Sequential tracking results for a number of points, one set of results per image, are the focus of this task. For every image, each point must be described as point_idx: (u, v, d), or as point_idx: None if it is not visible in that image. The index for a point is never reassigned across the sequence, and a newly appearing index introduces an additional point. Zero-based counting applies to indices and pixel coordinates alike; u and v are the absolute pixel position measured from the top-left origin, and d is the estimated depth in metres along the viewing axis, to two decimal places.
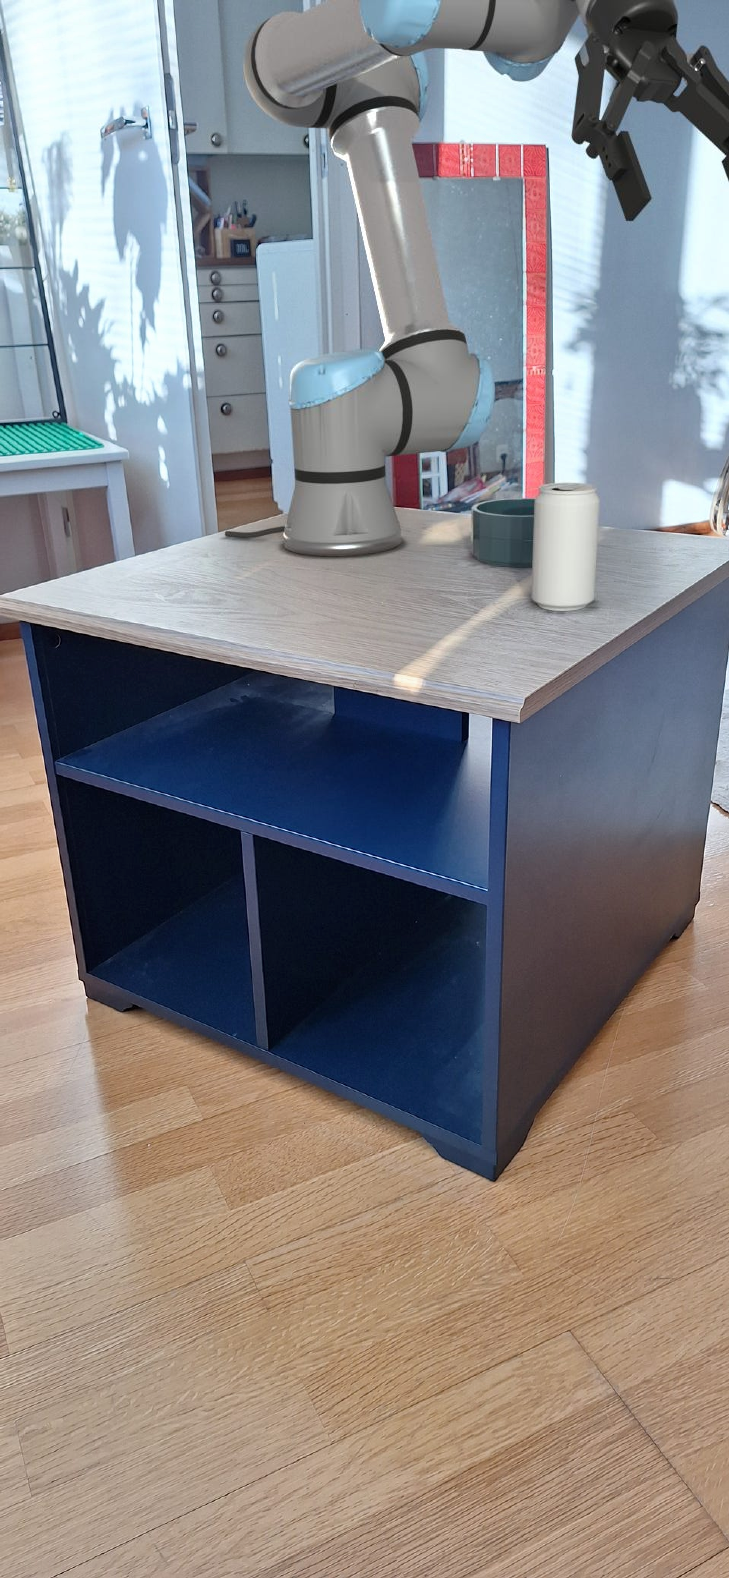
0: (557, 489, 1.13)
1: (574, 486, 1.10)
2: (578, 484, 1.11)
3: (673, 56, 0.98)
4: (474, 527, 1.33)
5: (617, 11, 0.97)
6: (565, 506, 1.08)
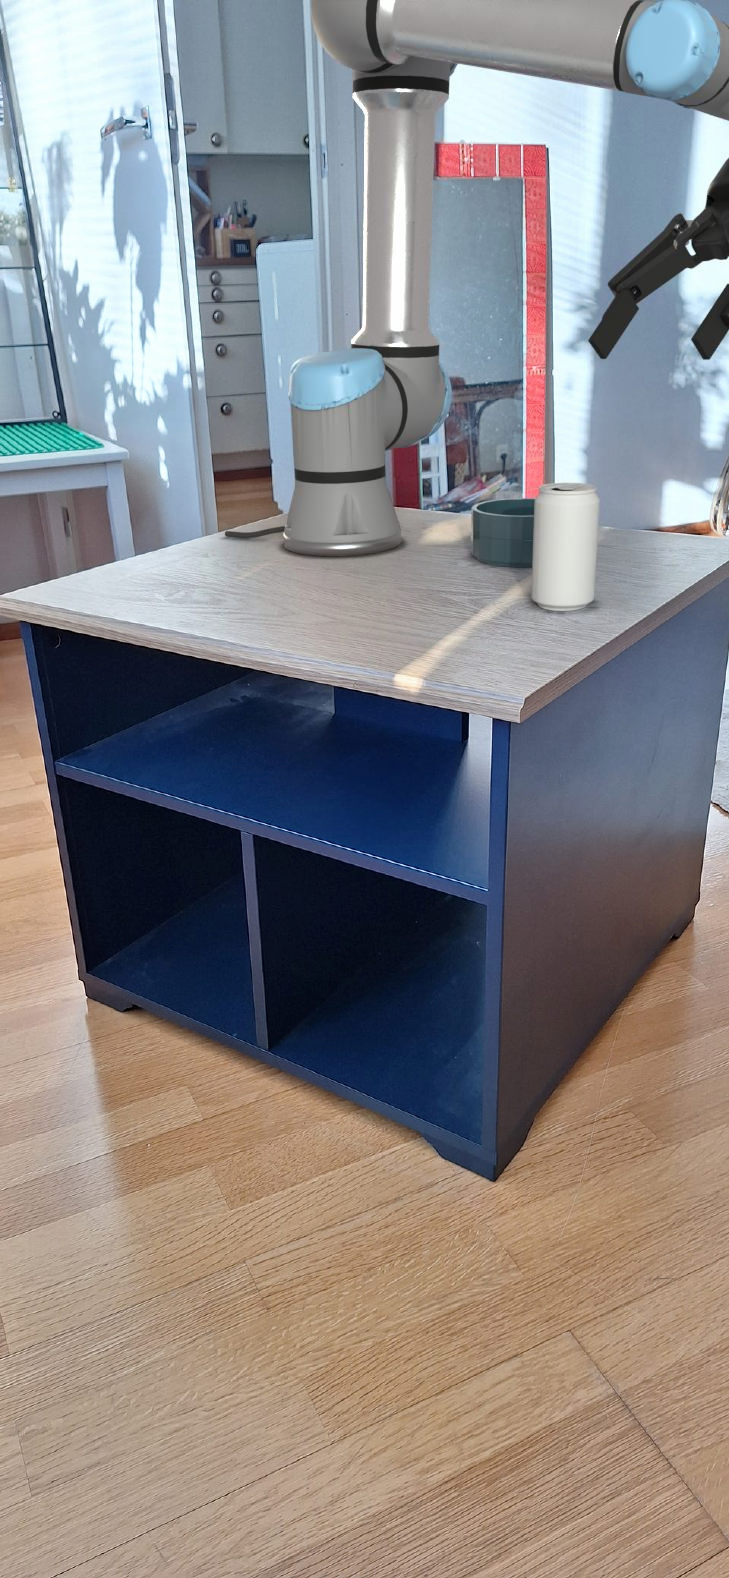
0: (557, 489, 1.13)
1: (574, 486, 1.10)
2: (578, 484, 1.11)
3: None
4: (474, 527, 1.33)
5: None
6: (565, 506, 1.08)
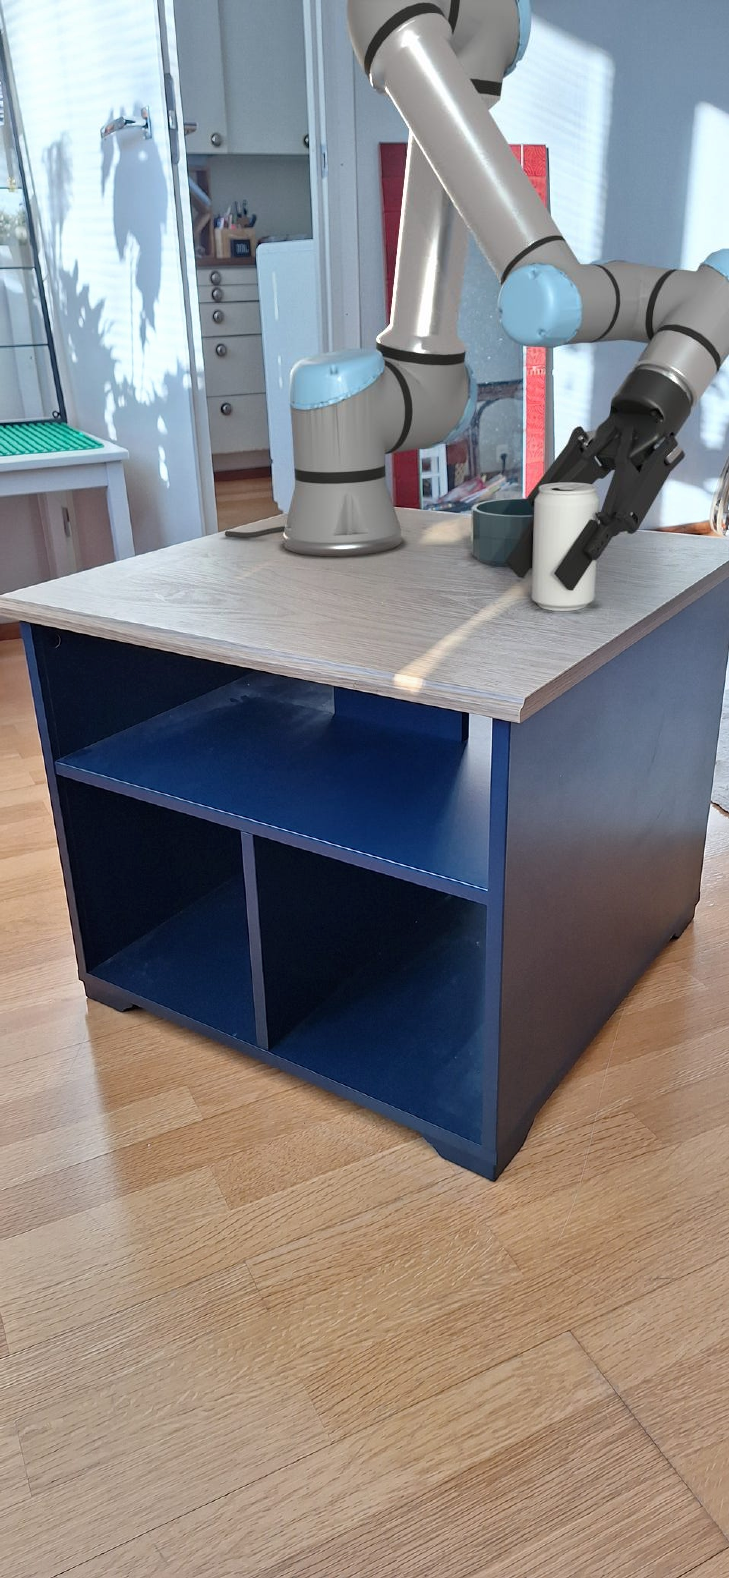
0: (557, 489, 1.13)
1: (574, 486, 1.10)
2: (578, 484, 1.11)
3: None
4: (474, 527, 1.33)
5: (678, 429, 1.12)
6: (565, 506, 1.08)
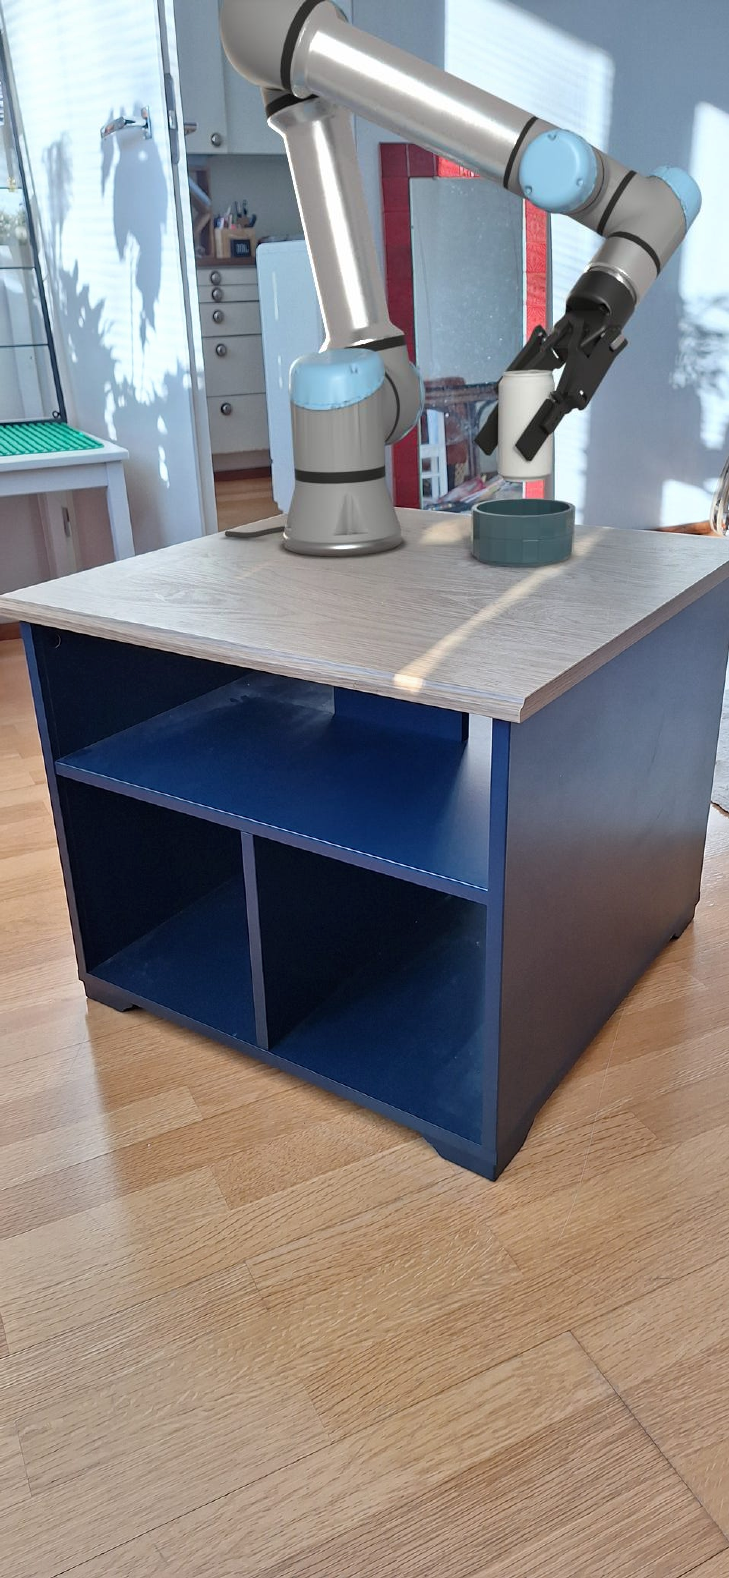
0: None
1: (532, 371, 1.27)
2: (536, 370, 1.28)
3: None
4: (474, 527, 1.33)
5: (623, 323, 1.29)
6: (524, 386, 1.25)
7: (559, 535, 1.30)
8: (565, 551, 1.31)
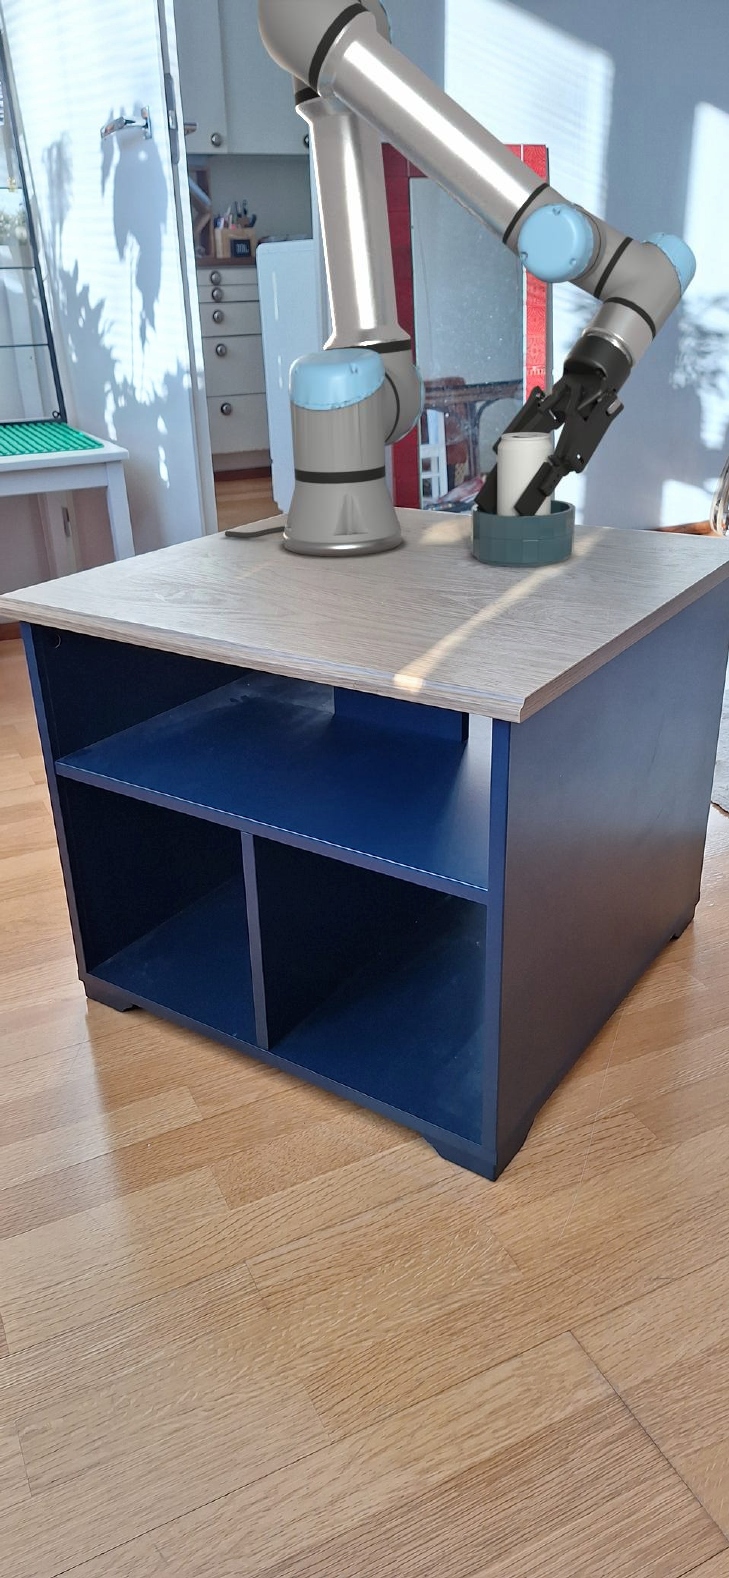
0: (517, 438, 1.33)
1: (531, 434, 1.30)
2: (534, 433, 1.30)
3: None
4: (474, 527, 1.33)
5: (620, 386, 1.31)
6: (523, 450, 1.27)
7: (559, 535, 1.30)
8: (565, 551, 1.31)
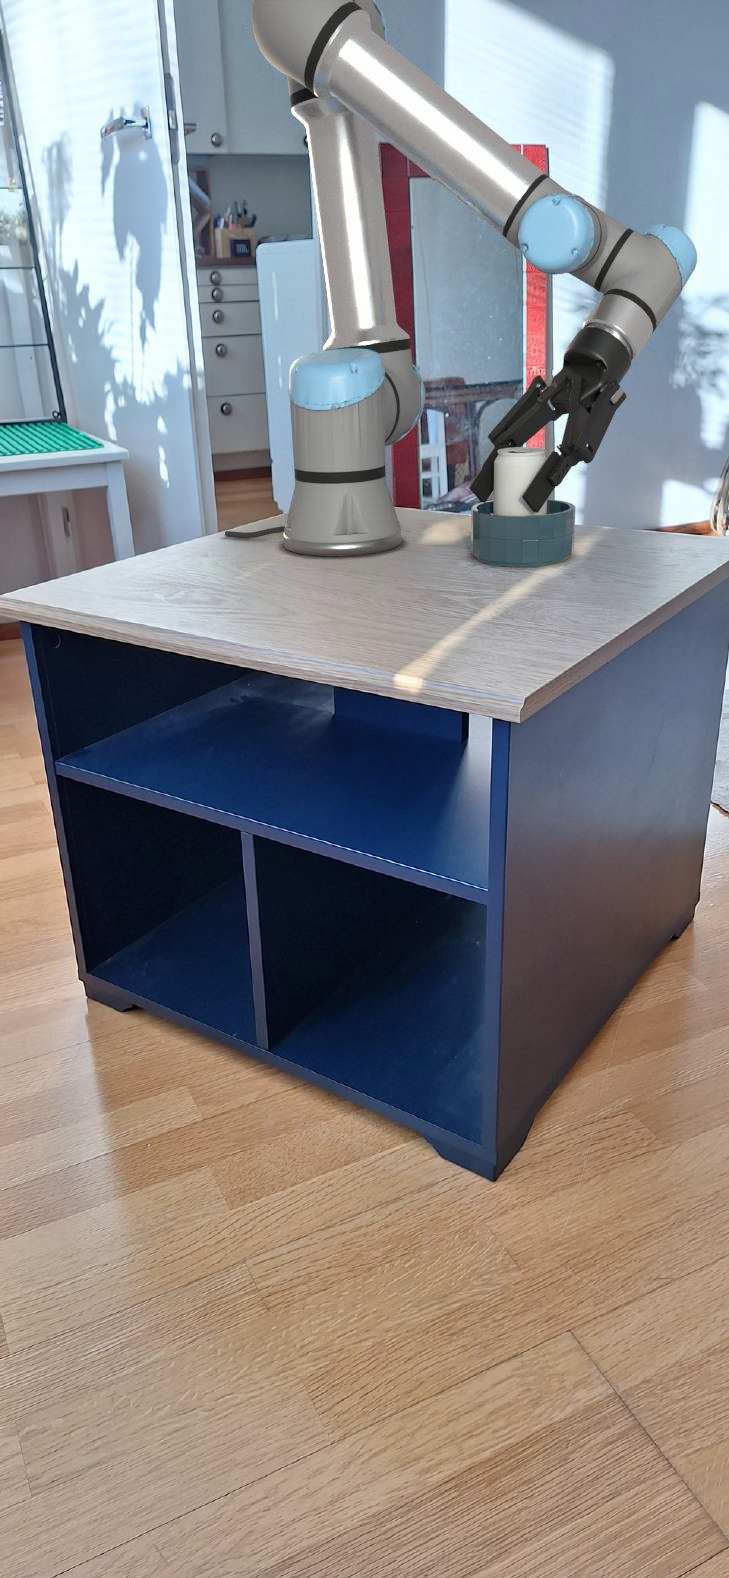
0: (514, 453, 1.34)
1: (527, 449, 1.31)
2: (531, 448, 1.32)
3: None
4: (474, 527, 1.33)
5: (620, 378, 1.31)
6: (519, 465, 1.29)
7: (559, 535, 1.30)
8: (565, 551, 1.31)
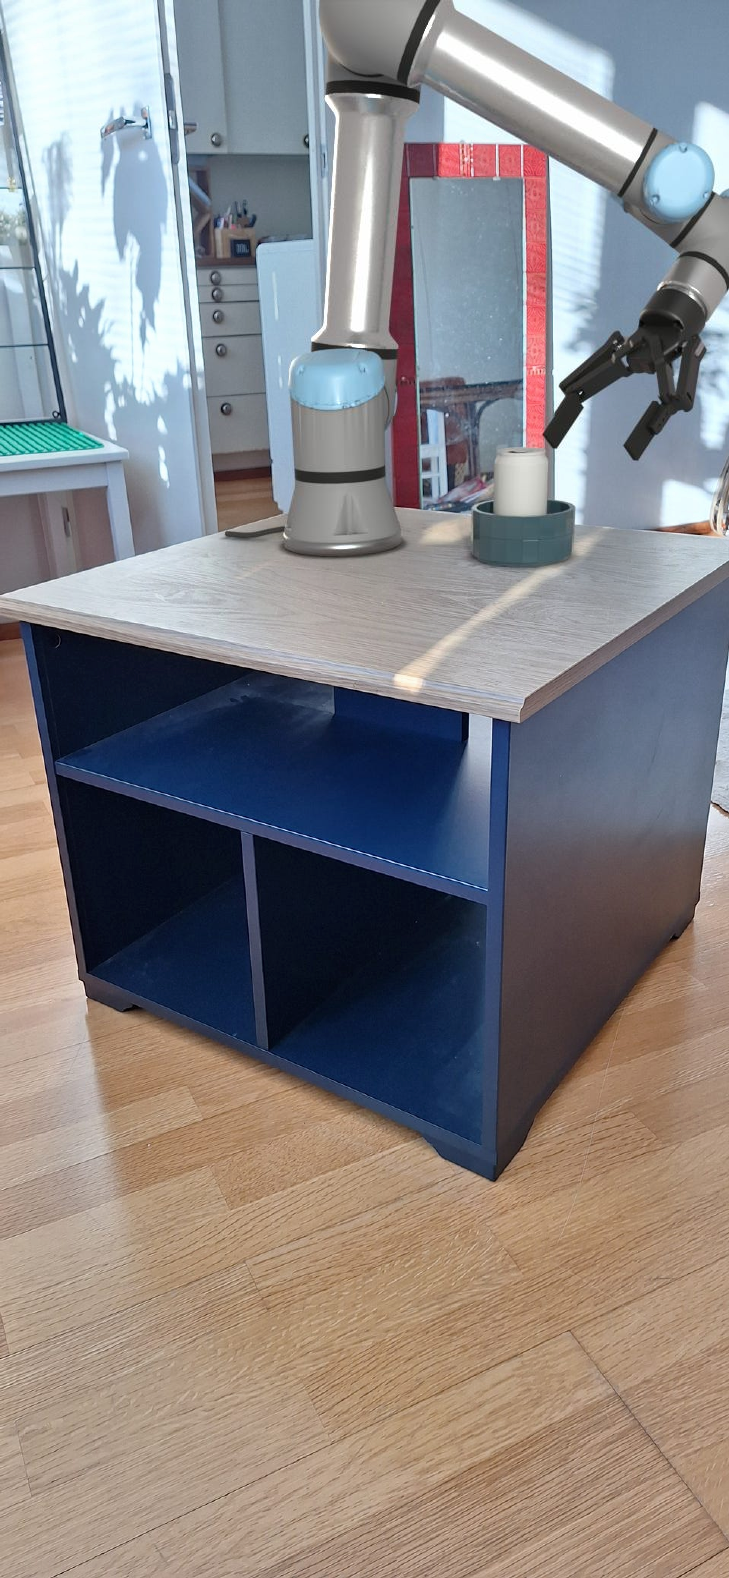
0: (514, 453, 1.34)
1: (527, 449, 1.31)
2: (531, 448, 1.32)
3: None
4: (474, 527, 1.33)
5: None
6: (519, 465, 1.29)
7: (559, 535, 1.30)
8: (565, 551, 1.31)
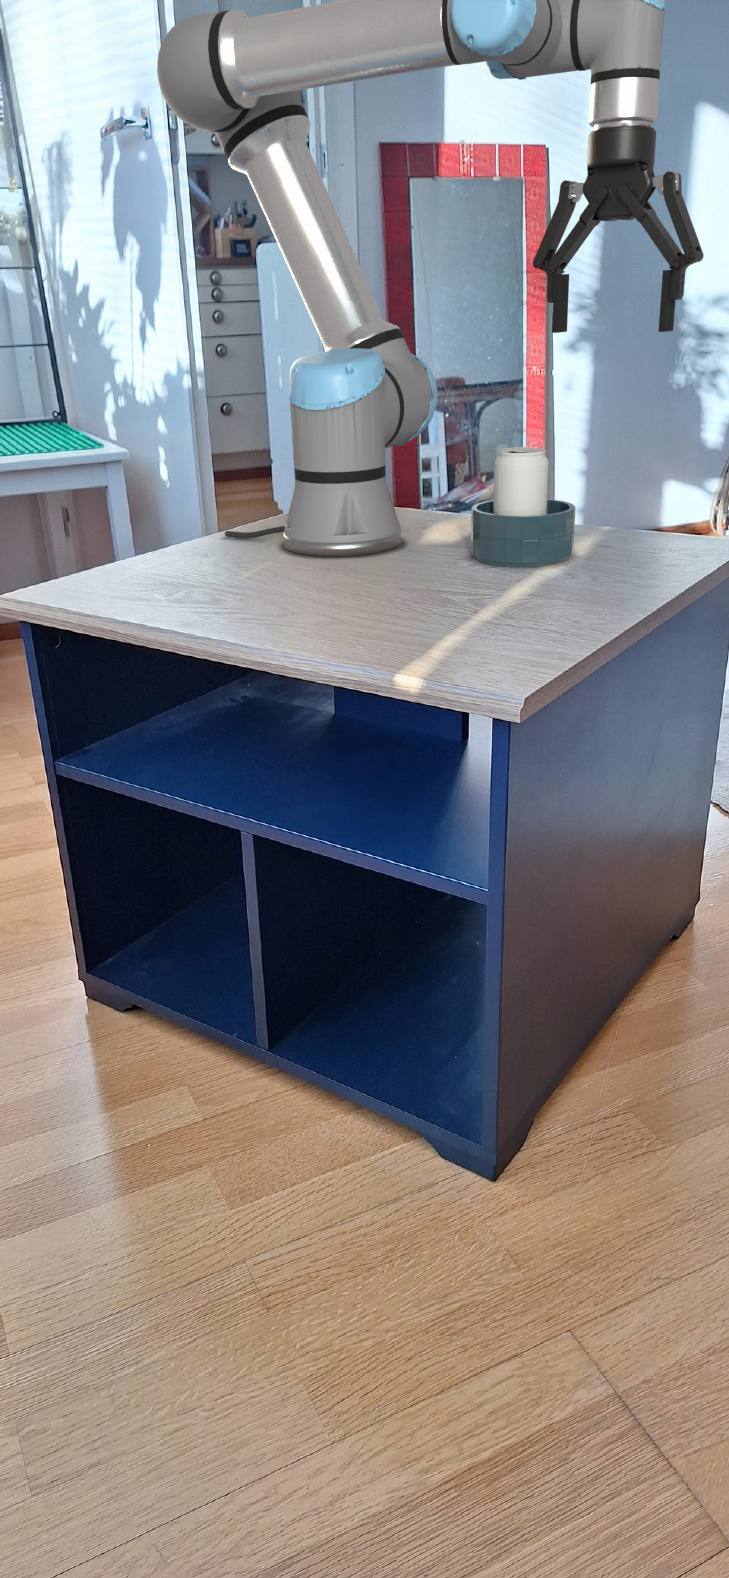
0: (514, 453, 1.34)
1: (527, 449, 1.31)
2: (531, 448, 1.32)
3: None
4: (474, 527, 1.33)
5: None
6: (519, 465, 1.29)
7: (559, 535, 1.30)
8: (565, 551, 1.31)
